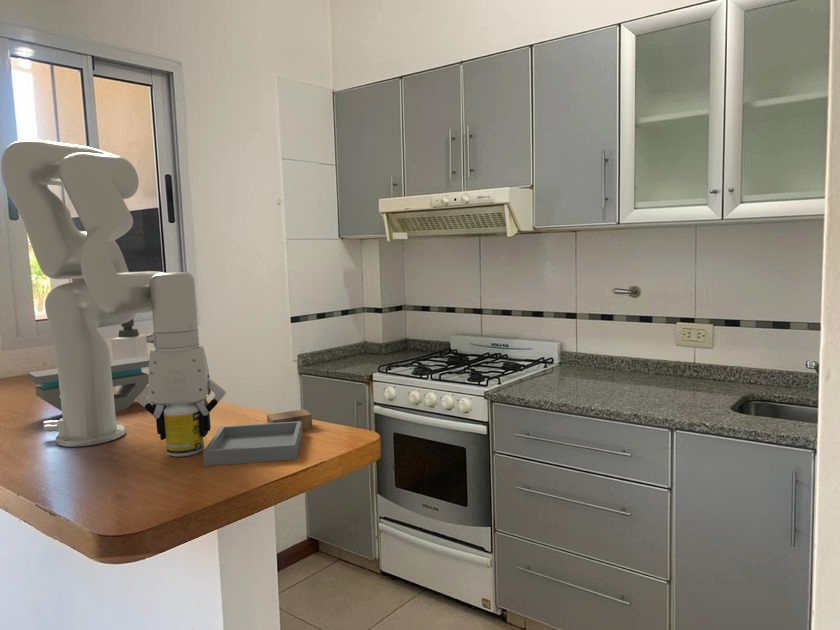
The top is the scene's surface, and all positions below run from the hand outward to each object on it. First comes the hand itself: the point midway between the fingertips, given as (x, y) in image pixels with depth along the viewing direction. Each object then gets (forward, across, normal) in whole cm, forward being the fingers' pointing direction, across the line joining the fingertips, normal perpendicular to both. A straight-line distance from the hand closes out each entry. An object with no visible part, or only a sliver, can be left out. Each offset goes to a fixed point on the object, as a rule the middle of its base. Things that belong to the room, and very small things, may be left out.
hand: (184, 435), depth 119 cm
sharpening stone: (+3, -30, +38) cm, 49 cm away
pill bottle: (+3, 0, 0) cm, 3 cm away
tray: (+3, +13, -1) cm, 13 cm away
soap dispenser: (+3, -29, +60) cm, 67 cm away
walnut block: (+3, +18, +11) cm, 21 cm away
